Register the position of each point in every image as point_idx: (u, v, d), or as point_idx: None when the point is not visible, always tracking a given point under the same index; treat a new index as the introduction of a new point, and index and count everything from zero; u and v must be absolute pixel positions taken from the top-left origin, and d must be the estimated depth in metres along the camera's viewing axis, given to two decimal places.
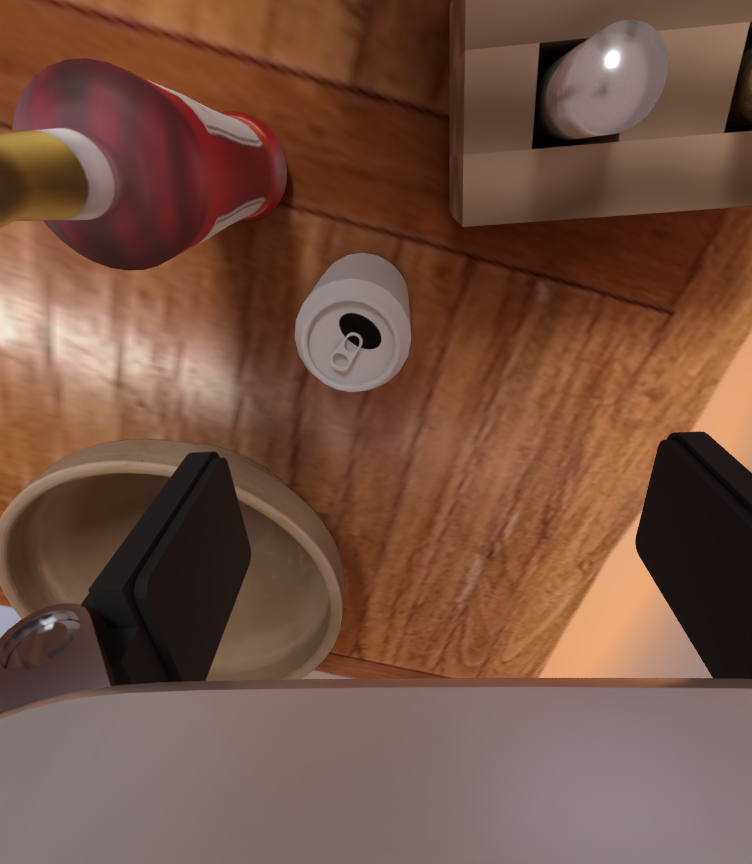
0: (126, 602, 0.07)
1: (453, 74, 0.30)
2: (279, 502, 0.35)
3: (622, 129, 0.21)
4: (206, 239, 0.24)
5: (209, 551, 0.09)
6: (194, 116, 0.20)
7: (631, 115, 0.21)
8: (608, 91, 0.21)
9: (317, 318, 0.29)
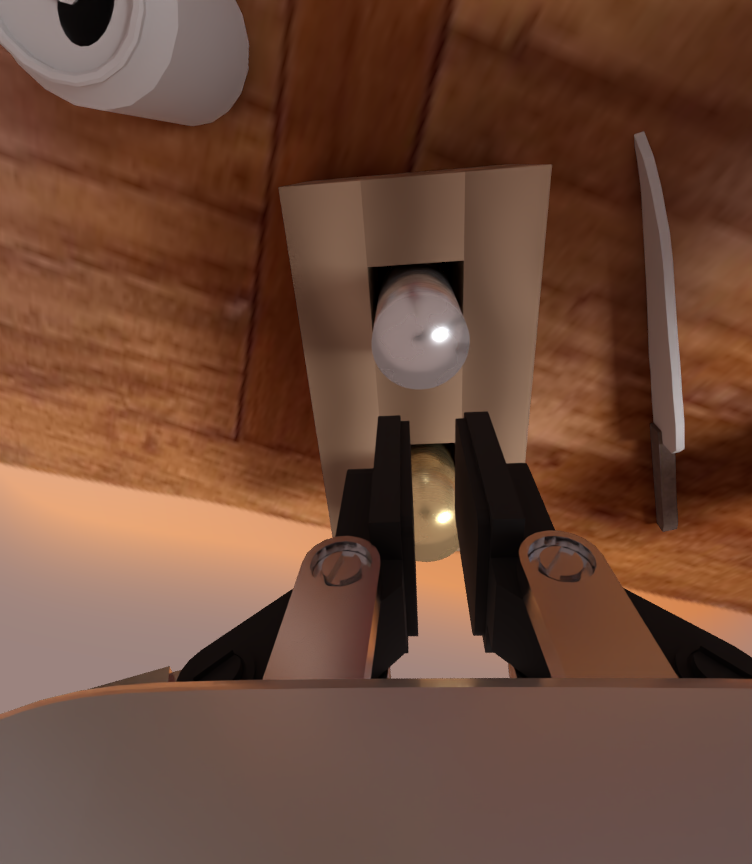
0: (397, 535, 0.08)
1: (448, 170, 0.26)
2: None
3: (376, 358, 0.20)
4: None
5: None
6: None
7: (388, 364, 0.20)
8: (410, 336, 0.19)
9: None
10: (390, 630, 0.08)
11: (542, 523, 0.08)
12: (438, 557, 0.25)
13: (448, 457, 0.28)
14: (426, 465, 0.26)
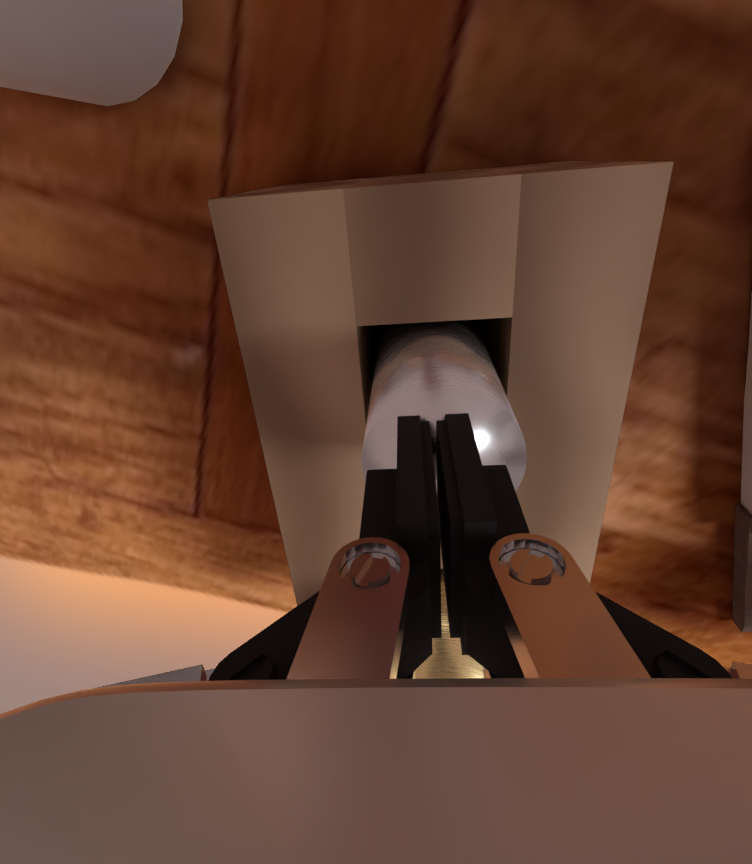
0: (424, 536, 0.08)
1: (481, 170, 0.18)
2: None
3: None
4: None
5: None
6: None
7: None
8: None
9: None
10: (417, 632, 0.08)
11: (517, 525, 0.08)
12: None
13: None
14: (445, 611, 0.18)
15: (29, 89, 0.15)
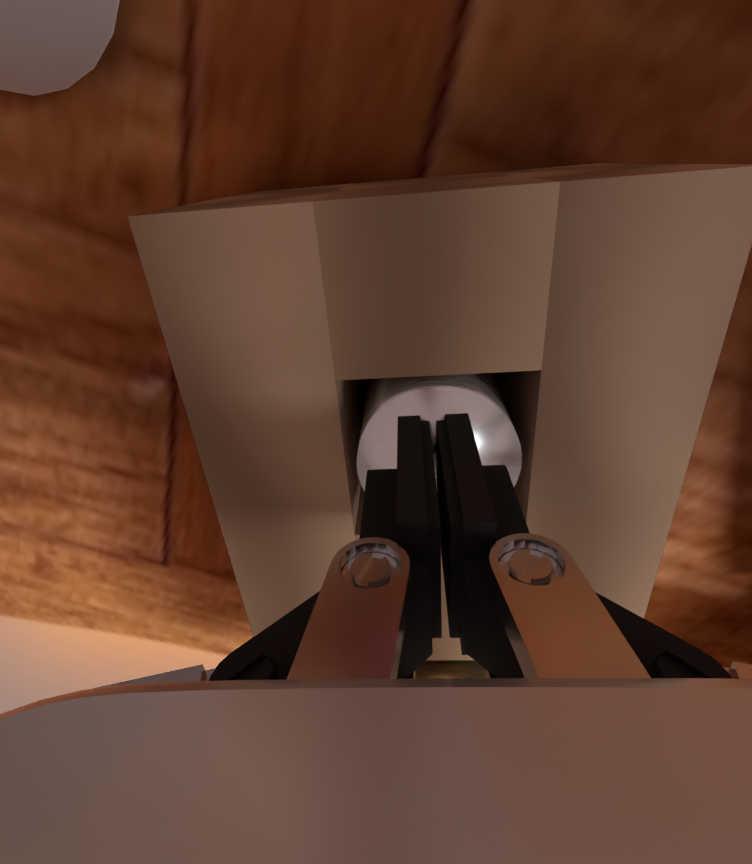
0: (425, 536, 0.08)
1: (494, 174, 0.14)
2: None
3: (364, 484, 0.12)
4: None
5: None
6: None
7: None
8: None
9: None
10: (418, 632, 0.08)
11: (517, 526, 0.08)
12: None
13: None
14: None
15: None
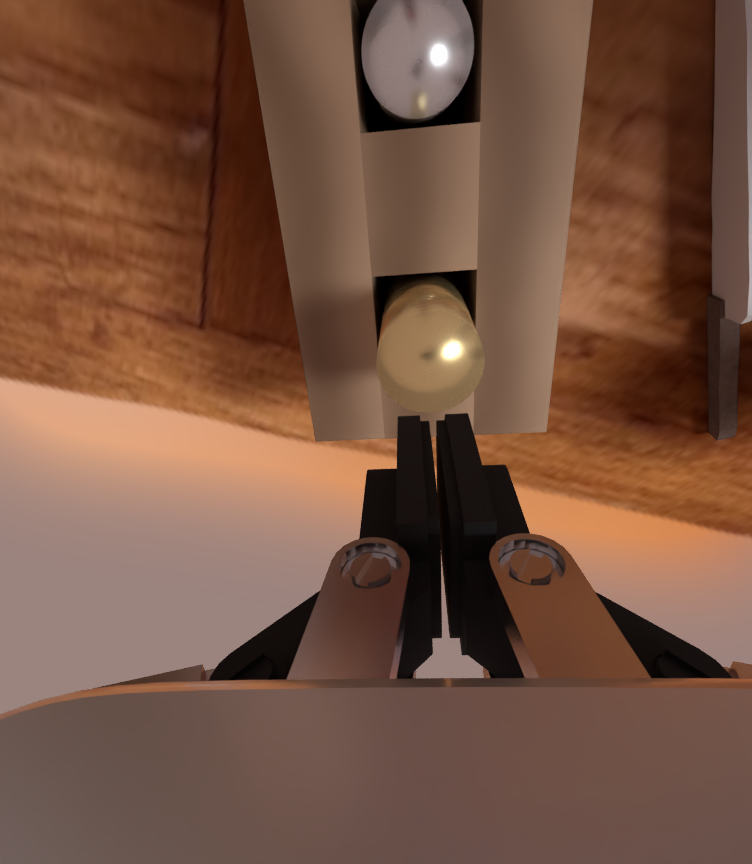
0: (425, 537, 0.08)
1: None
2: None
3: (367, 74, 0.18)
4: None
5: None
6: None
7: (381, 82, 0.18)
8: (406, 39, 0.17)
9: None
10: (418, 632, 0.08)
11: (517, 526, 0.08)
12: (446, 405, 0.19)
13: (459, 294, 0.22)
14: (430, 289, 0.20)
15: None
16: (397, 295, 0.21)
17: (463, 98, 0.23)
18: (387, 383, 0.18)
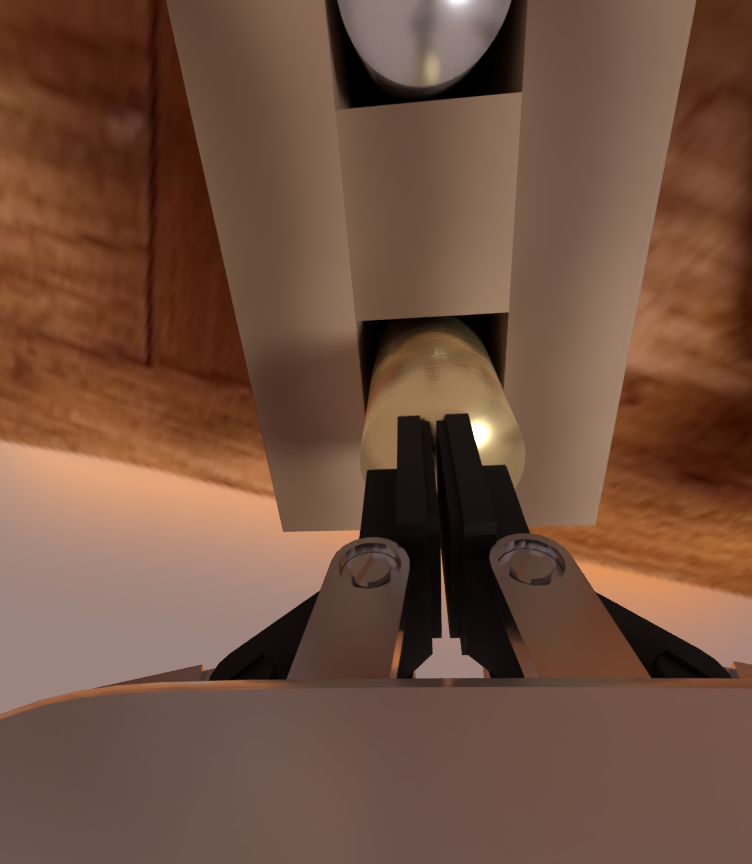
0: (425, 537, 0.08)
1: None
2: None
3: (344, 13, 0.11)
4: None
5: None
6: None
7: (367, 26, 0.11)
8: None
9: None
10: (418, 632, 0.08)
11: (517, 526, 0.08)
12: None
13: (480, 341, 0.15)
14: (440, 341, 0.13)
15: None
16: (393, 344, 0.15)
17: (486, 68, 0.16)
18: None
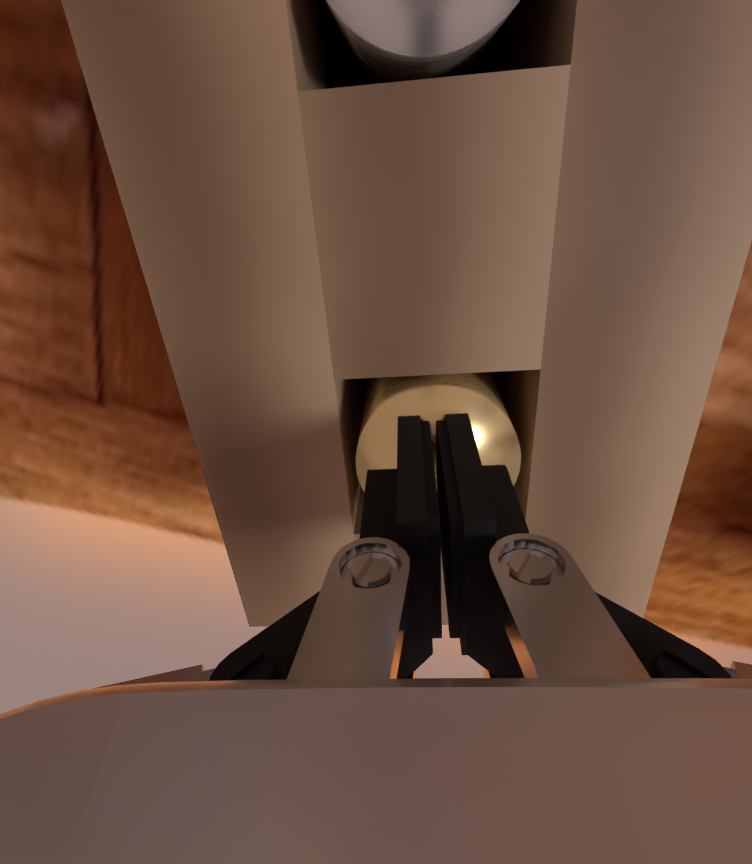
0: (425, 536, 0.08)
1: None
2: None
3: None
4: None
5: None
6: None
7: None
8: None
9: None
10: (418, 632, 0.08)
11: (517, 525, 0.08)
12: None
13: None
14: None
15: None
16: None
17: (504, 45, 0.13)
18: None
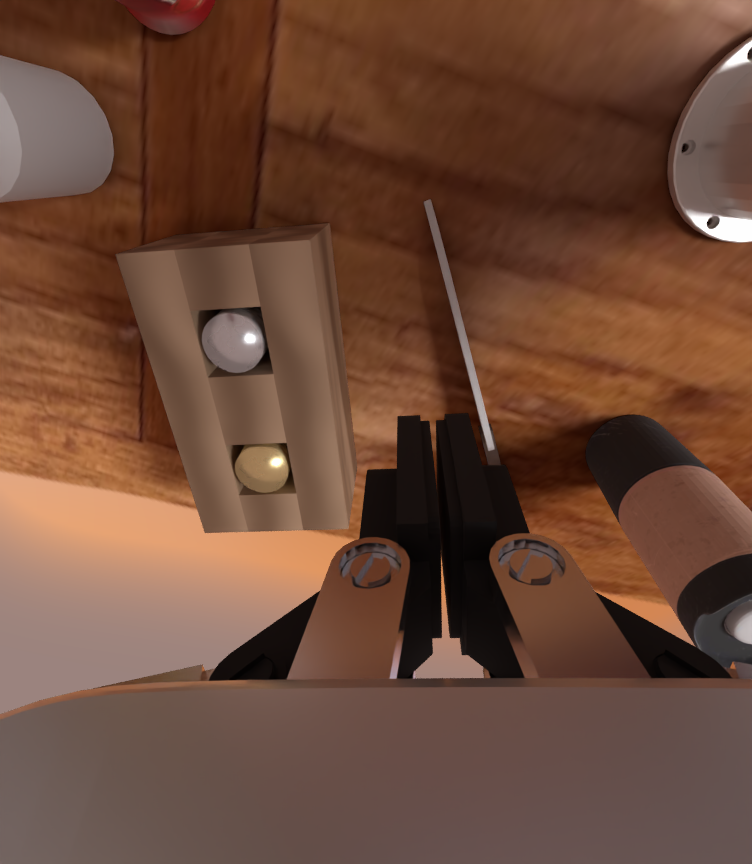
0: (425, 536, 0.08)
1: (269, 231, 0.34)
2: None
3: (206, 352, 0.32)
4: None
5: None
6: None
7: (215, 356, 0.32)
8: (225, 339, 0.31)
9: None
10: (418, 632, 0.08)
11: (517, 525, 0.08)
12: (273, 489, 0.37)
13: None
14: None
15: (35, 198, 0.31)
16: None
17: None
18: (242, 479, 0.37)
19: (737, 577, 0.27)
